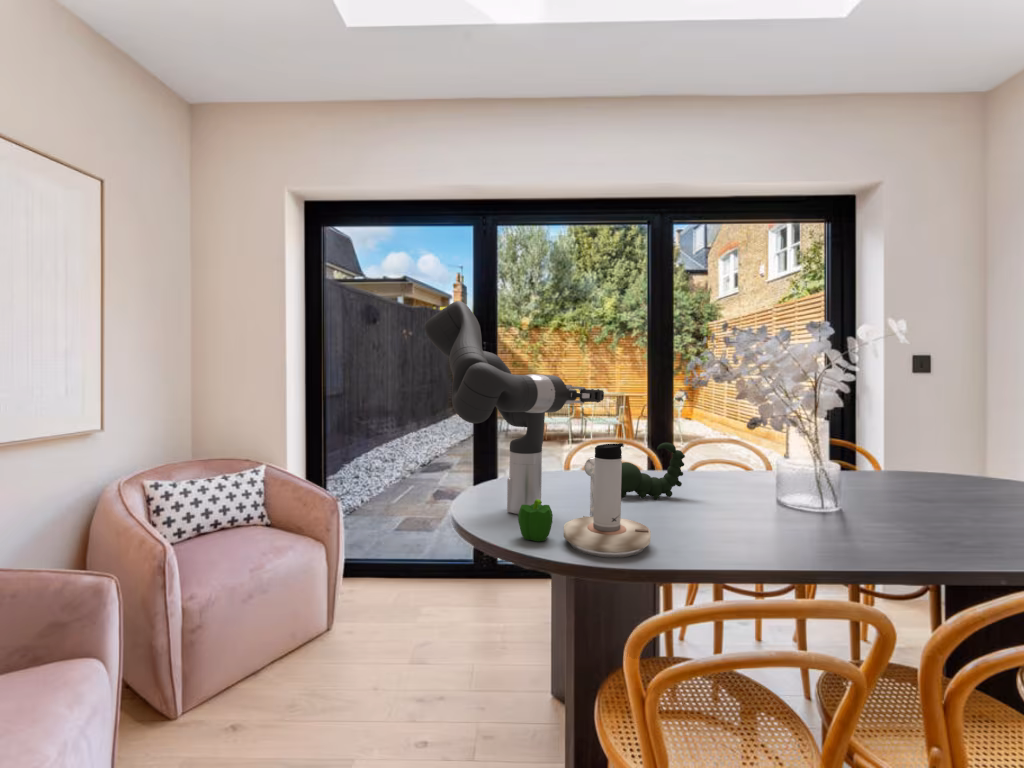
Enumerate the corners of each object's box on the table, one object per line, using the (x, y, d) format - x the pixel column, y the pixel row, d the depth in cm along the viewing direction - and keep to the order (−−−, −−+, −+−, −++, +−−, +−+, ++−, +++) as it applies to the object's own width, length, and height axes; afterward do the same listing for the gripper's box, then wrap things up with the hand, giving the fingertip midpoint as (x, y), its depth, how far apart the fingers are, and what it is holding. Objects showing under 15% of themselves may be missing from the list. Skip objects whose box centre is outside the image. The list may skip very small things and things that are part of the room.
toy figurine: (674, 499, 176) (597, 491, 177) (680, 442, 175) (604, 434, 176) (682, 507, 167) (601, 498, 168) (689, 446, 166) (608, 438, 167)
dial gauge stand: (580, 530, 137) (581, 459, 137) (583, 520, 146) (584, 454, 145) (604, 531, 136) (605, 461, 135) (605, 522, 144) (606, 455, 144)
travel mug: (621, 533, 122) (623, 445, 122) (592, 531, 124) (594, 444, 123) (621, 525, 128) (623, 441, 128) (593, 523, 130) (595, 440, 129)
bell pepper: (518, 532, 135) (518, 493, 134) (551, 533, 134) (552, 493, 134) (517, 544, 126) (518, 501, 126) (552, 545, 126) (553, 502, 126)
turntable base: (565, 553, 120) (566, 547, 120) (573, 530, 137) (574, 525, 137) (644, 560, 116) (644, 554, 116) (642, 536, 133) (642, 530, 133)
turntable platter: (558, 547, 119) (558, 537, 119) (568, 521, 138) (568, 512, 138) (652, 555, 115) (652, 544, 115) (649, 527, 134) (649, 518, 134)
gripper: (569, 375, 101) (614, 378, 113) (512, 373, 110) (559, 376, 122) (567, 415, 101) (612, 414, 113) (510, 410, 110) (558, 409, 123)
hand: (585, 394), depth 118 cm, fingers open, 8 cm apart
